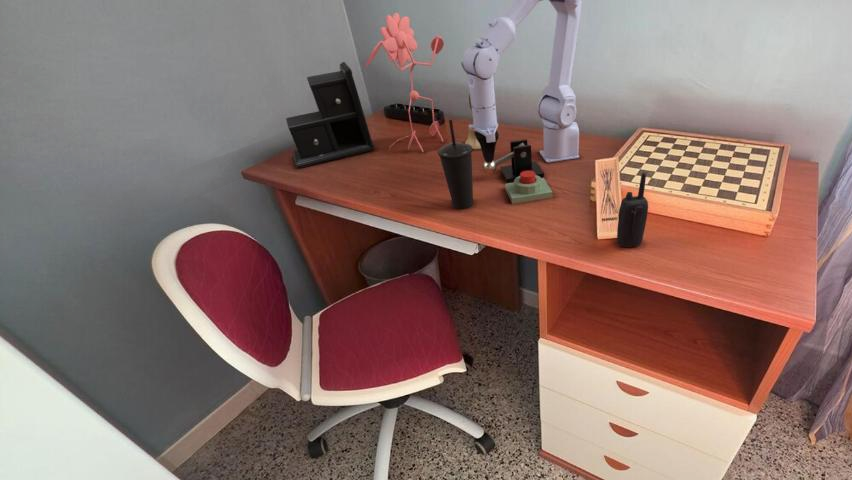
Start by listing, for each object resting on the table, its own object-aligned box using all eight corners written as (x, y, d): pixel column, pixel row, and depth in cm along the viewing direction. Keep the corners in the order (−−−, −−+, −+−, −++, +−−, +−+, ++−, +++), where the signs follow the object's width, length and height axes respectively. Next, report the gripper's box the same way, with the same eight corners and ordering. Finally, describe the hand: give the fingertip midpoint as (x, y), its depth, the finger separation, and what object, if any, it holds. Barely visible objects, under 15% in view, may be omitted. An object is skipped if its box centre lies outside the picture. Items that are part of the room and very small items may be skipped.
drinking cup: (466, 215, 98) (453, 128, 85) (441, 208, 101) (424, 123, 89) (485, 201, 103) (475, 116, 90) (460, 194, 106) (447, 112, 93)
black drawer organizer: (296, 169, 125) (261, 83, 110) (293, 156, 132) (260, 75, 117) (375, 151, 132) (352, 68, 117) (368, 140, 139) (346, 61, 124)
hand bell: (496, 141, 132) (491, 86, 121) (481, 151, 126) (474, 94, 116) (475, 137, 135) (468, 84, 125) (459, 147, 130) (451, 91, 120)
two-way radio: (639, 237, 87) (650, 168, 77) (647, 249, 84) (660, 178, 74) (613, 240, 87) (620, 171, 77) (620, 253, 83) (629, 182, 73)
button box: (543, 183, 108) (543, 170, 106) (552, 197, 102) (552, 184, 100) (505, 189, 107) (504, 176, 105) (512, 204, 101) (511, 190, 99)
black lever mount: (506, 183, 109) (504, 152, 104) (500, 170, 115) (498, 140, 110) (544, 177, 110) (543, 146, 105) (536, 165, 117) (535, 135, 111)
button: (533, 177, 104) (533, 169, 103) (537, 183, 101) (536, 175, 100) (519, 179, 104) (518, 171, 102) (522, 186, 101) (522, 178, 100)
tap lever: (487, 178, 110) (481, 167, 107) (485, 172, 112) (479, 161, 110) (530, 156, 108) (524, 144, 106) (526, 151, 111) (521, 139, 109)
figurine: (462, 133, 139) (445, 6, 116) (405, 163, 123) (373, 23, 101) (428, 126, 146) (406, 5, 123) (370, 153, 130) (333, 20, 108)
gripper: (462, 98, 105) (469, 151, 113) (471, 116, 94) (478, 174, 103) (490, 94, 106) (495, 148, 114) (502, 112, 95) (506, 169, 103)
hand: (489, 160), depth 109 cm, fingers closed, pressing on tap lever
